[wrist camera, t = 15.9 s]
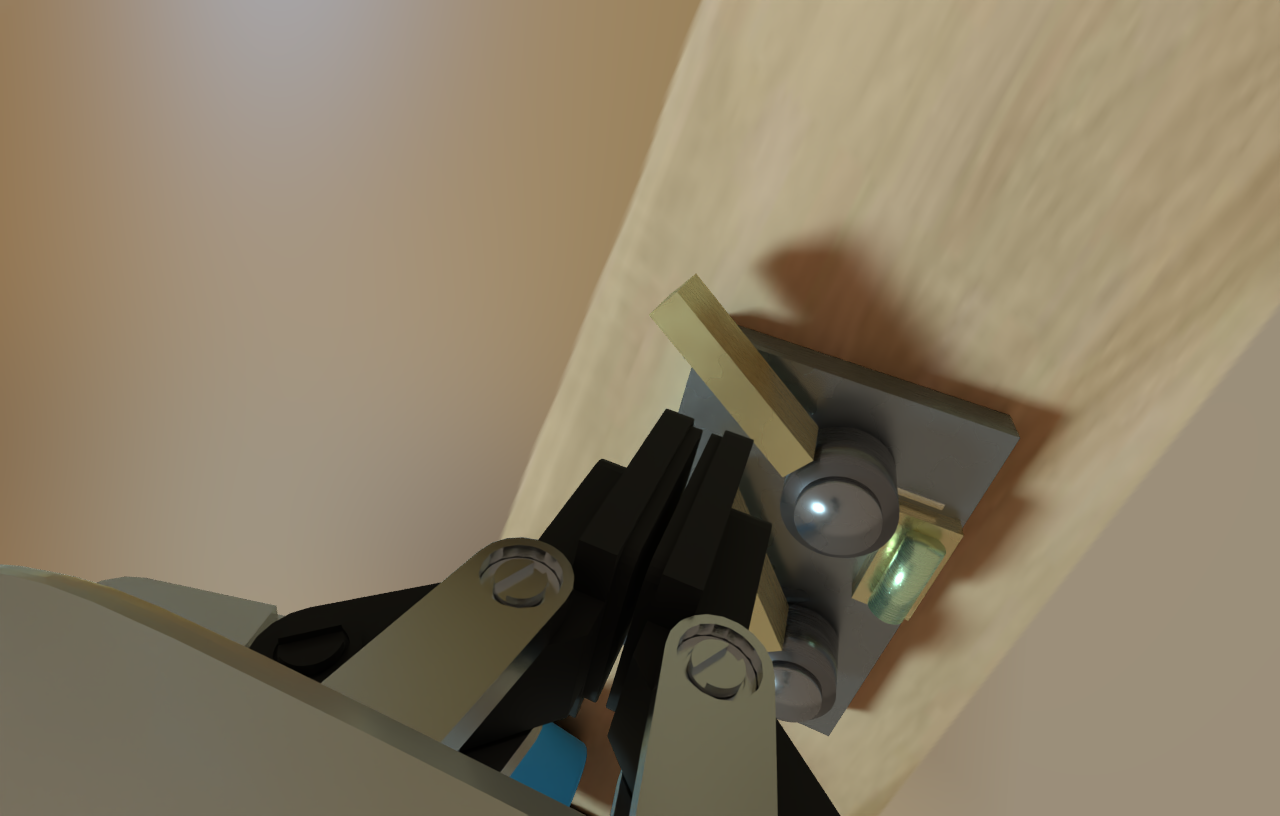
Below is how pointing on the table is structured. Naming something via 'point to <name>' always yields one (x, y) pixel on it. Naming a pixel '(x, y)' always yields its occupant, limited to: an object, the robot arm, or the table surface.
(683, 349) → the knob
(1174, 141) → the table surface
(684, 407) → the control panel
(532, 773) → the alarm clock
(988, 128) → the table surface
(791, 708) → the knob
